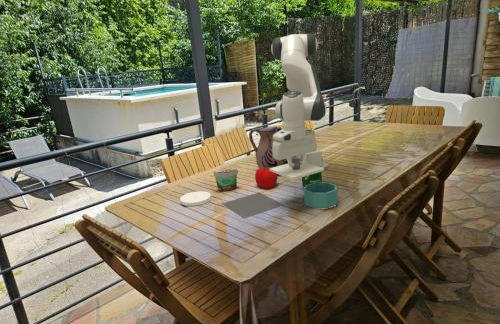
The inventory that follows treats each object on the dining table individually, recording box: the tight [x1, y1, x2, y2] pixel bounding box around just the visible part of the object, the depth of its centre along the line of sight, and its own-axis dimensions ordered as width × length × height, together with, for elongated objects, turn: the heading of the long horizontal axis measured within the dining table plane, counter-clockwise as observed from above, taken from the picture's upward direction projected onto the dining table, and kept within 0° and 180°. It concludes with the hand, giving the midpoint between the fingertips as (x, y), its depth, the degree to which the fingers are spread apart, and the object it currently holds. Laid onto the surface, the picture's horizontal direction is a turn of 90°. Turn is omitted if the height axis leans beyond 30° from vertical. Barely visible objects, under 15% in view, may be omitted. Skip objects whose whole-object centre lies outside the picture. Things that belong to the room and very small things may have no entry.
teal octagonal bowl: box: [303, 181, 338, 209], centre depth 144 cm, size 13×13×7 cm
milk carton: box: [301, 148, 323, 188], centre depth 161 cm, size 9×9×20 cm
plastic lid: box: [179, 191, 212, 207], centre depth 159 cm, size 14×14×2 cm
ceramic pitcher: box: [248, 125, 288, 169], centre depth 188 cm, size 18×21×25 cm
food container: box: [213, 167, 239, 193], centre depth 168 cm, size 12×6×10 cm, turn 105°
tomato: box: [254, 167, 278, 190], centre depth 169 cm, size 11×13×10 cm
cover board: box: [269, 158, 325, 181], centre depth 142 cm, size 16×16×5 cm
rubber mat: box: [221, 192, 285, 219], centre depth 149 cm, size 20×20×1 cm
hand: (296, 165), depth 142 cm, fingers closed on cover board, 3 cm apart
